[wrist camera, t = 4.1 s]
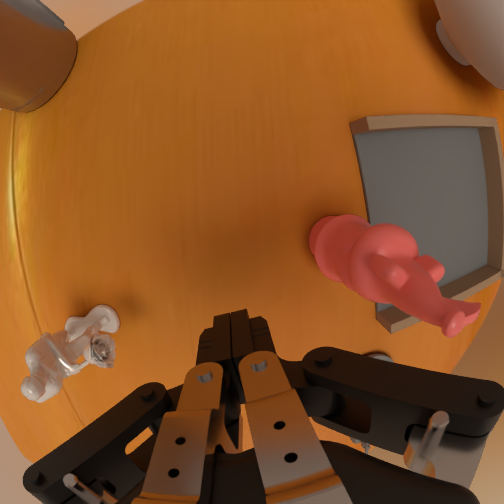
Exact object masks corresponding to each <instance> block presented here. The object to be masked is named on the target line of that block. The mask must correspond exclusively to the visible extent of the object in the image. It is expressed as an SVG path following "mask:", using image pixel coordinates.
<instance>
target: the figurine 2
mask: <svg viewBox="0 0 504 504" xmlns="http://www.w3.org/2000/svg"><path fill="white" fill-rule="evenodd" d="M309 247H310V250H311V252H312V254H313V255H314V257H315V260H316V263H317V265H318V267H319V269H320V270H321V272H322V273H323V274H324V275H325V276H326V277H328V278H329V279H331V280H334V281H337V282H343V283H344V284H345V285H346V286H347V287H348V288H349V289H351V290H353V291H355V292H357V293H358V294H359V295H360V296H362V297H363V298H365V299H367V300H370V301H373V302H377V303H384V304H393V305H394V306H396V307H397V308H398V309H400V310H401V311H403V312H405V313H407V314H409V315H411V316H413V317H415V318H418V319H420V320H422V321H424V322H427V323H430V324H433V325H436V326H439V327H441V328H442V333H443V334H444V335H445V336H447V337H449V338H452V337H454V336H456V335H457V334H458V333H459V332H460V331H461V330H462V329H463V327H464V326H466V325H468V324H470V323H472V322H474V321H475V320H476V319H477V317H478V315H479V312H480V308H481V303H477V302H476V303H469V302H464V301H459V300H454V299H450V298H445V297H442V295H441V292H440V290H439V287H438V285H437V284H436V283H437V282H438V281H439V280H440V279H441V278H442V277H443V276H444V273H445V269H444V266H443V265H442V264H441V263H440V262H439V261H437V260H436V259H435V258H433V257H431V256H429V255H422V256H420V257H419V250H418V246H417V243H416V240H415V239H414V237H413V236H412V235H411V233H409V232H408V231H407V230H406V229H404V228H402V227H401V226H398V225H395V224H390V223H382V224H376V225H373V226H371V225H370V224H369V223H368V222H367V221H366V220H365V219H363V218H362V217H359V216H356V215H351V214H346V215H340V216H326V217H324V218H322V219H320V220H319V221H317V222H316V223H315V225H314V226H313V228H312V229H311V232H310V235H309Z"/></svg>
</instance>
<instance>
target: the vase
mask: <svg viewBox="0 0 504 504" xmlns="http://www.w3.org/2000/svg"><path fill="white" fill-rule="evenodd" d="M434 2H435V4H436V7H437V10H438V13H439V15H440V18H441V19H440V20H439V21H438V22H437V23H436V31H437V35H438V37H439V39H440V41H441V43H442V45H443V46H444V48H445V49H446V51H447V52H448V53H449V54H450V55H451V56H452V58H453V59H454V60H456V61H457V62H459V63H460V64H462V65H465V66H467V65H472V66H473V67H474V68H475V69H476V70H477V71H478V72H479V73H480V74H481V76H483V77H484V78H485V79H486V80H487V81H489V82H490V83H491V84H492V85H493V86H494V87H496V88H499V89H502V90H504V0H434Z"/></svg>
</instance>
